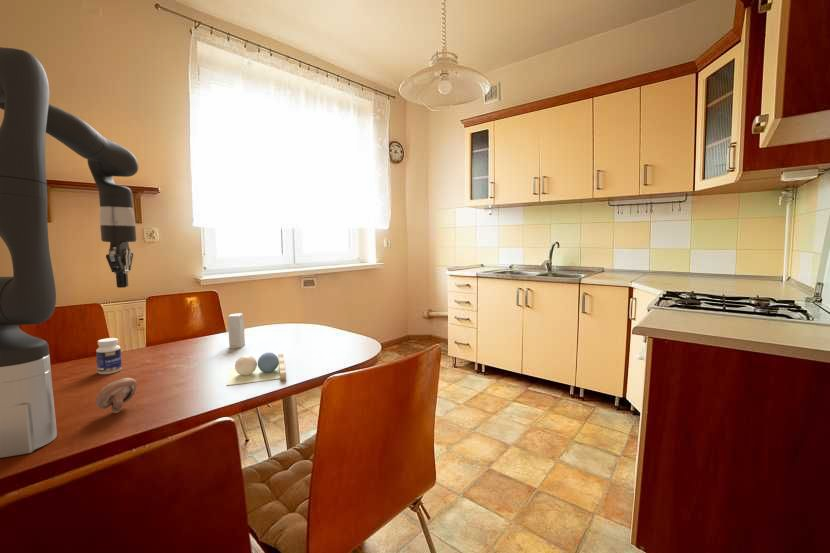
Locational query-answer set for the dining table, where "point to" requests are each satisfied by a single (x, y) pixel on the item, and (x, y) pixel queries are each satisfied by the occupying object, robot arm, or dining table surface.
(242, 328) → the skincare box
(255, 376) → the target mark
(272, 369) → the blue ball
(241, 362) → the cue ball
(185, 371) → the dining table surface
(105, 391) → the mushroom
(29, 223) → the robot arm
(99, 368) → the pill bottle
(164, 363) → the dining table surface
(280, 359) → the stopper strip
